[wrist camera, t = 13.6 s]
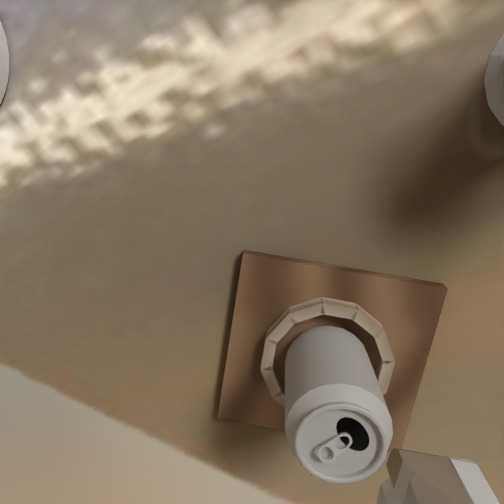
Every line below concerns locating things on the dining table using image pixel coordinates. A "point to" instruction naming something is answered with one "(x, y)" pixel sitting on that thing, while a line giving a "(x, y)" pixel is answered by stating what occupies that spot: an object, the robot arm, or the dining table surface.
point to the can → (334, 406)
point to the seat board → (324, 314)
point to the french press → (496, 80)
